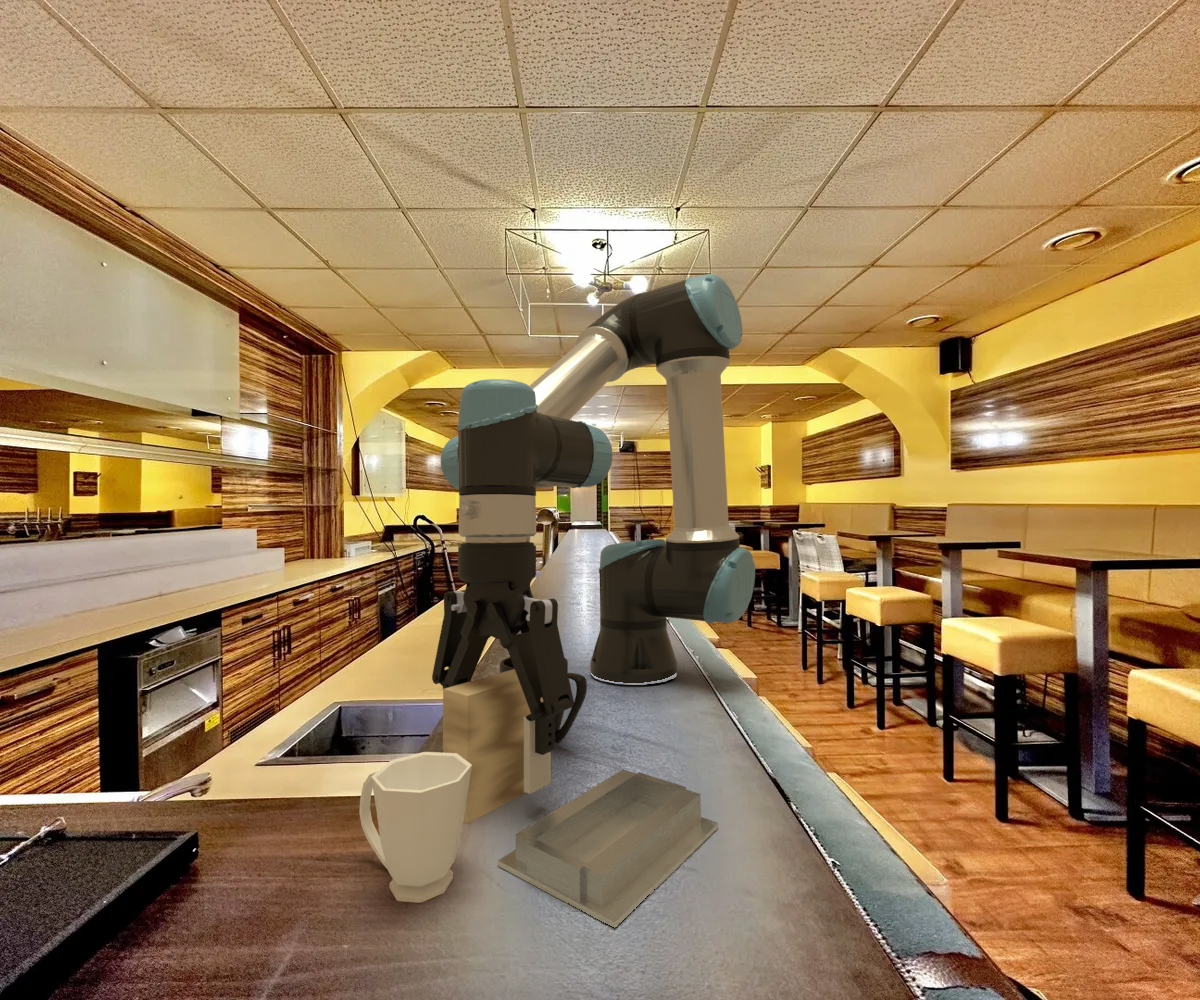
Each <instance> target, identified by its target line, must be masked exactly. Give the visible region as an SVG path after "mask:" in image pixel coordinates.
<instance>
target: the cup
mask: <svg viewBox="0 0 1200 1000" xmlns="http://www.w3.org/2000/svg"><path fill="white" fill-rule="evenodd" d="M471 768H472V764H470V763H469V762H468V761H466V760H465V759H464V758H462V757H461V756H460V755H458V754H457V753H443V752H436V751H422V752H418V753H415V754H410V755H407V756H402V757H399V758H395V759H392V760H389V761H388V762H387V763H386V764H385V765H383V767H381V768H380V769H379V770H376V771H374V772H372V773H369V774H368V776H367V778H366V779H365V781H364V782H363V784H362V789H361V794H360V799H359V809H358V810H359V811H358V812H359V819H360V824H361V825H360V826H361V828H362V830H363V833H364V835H365V838H366V841H368V843H369V845H370V847H371V848H372V850H373V852H374V853H375V855H376V856H377V858H378V860H379V861H380V862H381V863H382V865H383V866H384V867H385V869H387V872H388V873H389V875H390V877H391V878H392V879H391V881H390V882H389V890H390V891H391V893H392V895H393V897H394V898H395V900H396V901H397V902H406V903H407V902H408V903H416V904H417V903H419V904H421V903H424V902H425V901H428V900H430V899H433V898H435V897H437V896H440V895H442V894H444V893H445V892H446V890H447V889H448V887H449V886H450V884H451V882H452V880H453V879H454V872H453V871H452V870H451V867H452V865H453V864H454V862H455V861H456V857H457V852H458V850H459V845H460V841H461V838H462V837H461V836H462V832H463V827H464V814H465V807H466V800H467V794H468V788H469V782H470V775H471ZM372 793H373V797H374V803H375V810H376V816H377V817H376V818H377V824H378V831H379V833H378V831H377V829H376V826H375V825H374V822H373V818H372V811H371V798H372Z"/></svg>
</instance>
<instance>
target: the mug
mask: <svg viewBox="0 0 1200 1000" xmlns="http://www.w3.org/2000/svg"><path fill="white" fill-rule="evenodd" d="M564 658H565V663H566V667H567V672H568V671H569V670H568V666H569V663H568V662H569V661H568V659H567V658H566V657H564ZM513 669H514V666H513V663H512V661H511V658H510V656H509V657H506V658H503V659H502V660H501V661H500V663H499V673H502V672H506V671H509V670H513ZM568 677H569V680H572V681H574V682H575V686H576V693H575V698H574V705H573V707H572V708H570V711H569V713H568V715H567V717H566V719H565V720H564V723H563V725H562V726H561V724H562V721H563V717H564V714H565V711H562V712H560V713H557V714H556V716H555V745H556V744H559V743H560V742H561V741H563V740H564V739H565V737H566V736H567V734H568V733H569V731H570V729H571V728H572V726H573V724H574V722H575V720H576V718H577V716H578V714H579V712H580V711H581V708H582V706H583V704H584V701H585V698H586V695H587V692H588V690H587V689H588V684H587V682H588V681H587V679H586V677H585V676H583V675H582V674H579V673H573V672H568Z"/></svg>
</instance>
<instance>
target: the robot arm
mask: <svg viewBox="0 0 1200 1000" xmlns="http://www.w3.org/2000/svg"><path fill="white" fill-rule="evenodd" d="M742 337H743V322H742V316H741V313H740V308H739V305H738V303H737V300H736V298H735V295H734V294H733V291H732V289H731V288H730V286H729V285H728V283H727V282H726V281H725V280H724V278H722V277H721V276H719V275H716V274H715V273H713V274H712V273H707V274H703V275H699V276H694V277H693V276H690V277H687V278H686V279H684V280H680V281H678V282H677V281H676V282H674V283H671V284H668V285H664V286H661V287H658V288H655V289H651V290H648V291H645V292H641V293H637V294H634V295H632V296H630V297H627V298H625V299H624V300H622V301H620V302H618V303H617V304H615V305H614V306H612V307H611V308H610V309H609V310H607V311H606V312H605V313H603V314H602V315H600V316H599V317H598V318H597V319H596V320H595V321H594V322H592V323H591V324H590V325H589V326H587V327H586V328H585V329H584V330H582V331H581V332H580V334H578V337H577V338H576V342H575V346H574V347H572V349H571V350H569V351H568V352H567V353H566V354H565V355H564V356H562V357H561V358H560V359H559V360H558V361H556V362H555V363H554V364H553V365H552V366H550V368H548V369H546V371H545V372H544V373H543V374H541V375H540V376H539V377H538V378H537V379H535V380H534V381H533V382H532V383H531V384H530V385H528V383H524V382H522V381H518V380H512V379H505V378H503V379H502V378H499V379H498V378H497V379H496V378H495V379H494V378H489V379H482V380H477V381H473V382H470V383H468V384H467V385H465V386H464V387H463V389H462V390H461V393H460V401H459V410H458V423H457V428H456V429H457V431H458V432H457V433H458V435H457V436H454V437H452V438H451V439H449V440H448V441H447V442H446V443H445V445H444V447H443V448H442V451H441V456H440V467H441V471H442V474H443V476H444V477H445V479H446V481H447V482H448V483H449V484H450V485H451V486H452V487H453V488H455V489H456V490H458V497H459V498H458V499H459V500H458V501H459V502H458V503H459V504H458V535H459V536H460V537H462V538H465V542H463V543H460V544H459V545H460V546H459V545H458V547H457V548H458V549H457V568H458V569H457V576H458V579H459V580H460V581H462V582H464V583H466V585H465V589H461V590H454V591H447V592H445V593H444V594H443V613H444V614H443V619H442V625H441V628H440V629H441V630H440V635H439V639H438V645H437V649H436V655H435V659H434V665H433V669H432V676H431V679H432V682H433V683H434V684H435V685H438V684H439V685H441V686H442V690H443V689H445V688H449V687H452V686H456V685H459V684H463V683H466V682H470V681H472V678H473V675H474V673H475V671H476V669H477V666H478V664H479V661H480V659H481V658H482V654H483V651H485V647H486V645H487V642H488V640H489V639H490V638H494V639H497V640H499V642H500V645H501V647H502V648H504V649H506V650H507V652H508V654H509V657H510V658H511V661H512V663H513V666H514V669H515V671H516V674H517V677H518V679H519V682H520V685H521V688H522V690H523V693H524V696H525V698H526V701H527V704H528V707H529V709H530V712H531V714H529V715H527V716H526V717H524V792H526V793H525V794H527V795H528V794H529V795H531V794H533V793H535V792H536V791H538V790H540V789H542V788H544V787H545V786H547V785H549V784H551V782H552V781H551V780H552V778H551V777H552V776H551V773H552V772H551V770H552V767H551V766H552V765H551V762H552V761H551V758H552V757H551V756H552V755H551V752H553V751H554V750H555V747H556V744H555V716H556V714H557V713H560V712H562V711H564V712H565V711H567V710H571V708H572V707H573V705H574V701H575V699H574V696H573V692H572V687H571V682H570V679H569V677H568V673H569V672H567V667H566V663H565V658H566V657H565V654H564V649H563V645H562V641H561V635H560V631H559V627H558V626H559V625H558V613H559V612H558V611H559V605H558V601H557V600H556V599H555V598H547V599H538V598H534V595H533V593H532V590H531V583H532V581H533V580H534V578H536V575H537V545H535V542H532V541H531V537H535V535H537V511H536V510H537V507H536V505H537V502H536V501H537V500H536V499H537V498H536V496H537V488H548V487H549V488H551V487H570V488H571V489H576V488H579V489H580V488H590V487H595V486H596V485H598V484H600V483H601V482H602V481H604V479H605V478H606V477H607V475H608V474H609V472H610V470H611V467H612V465H613V464H612V463H613V454H614V453H613V447H612V444H611V441H610V438H609V437H608V436H607V434H606V433H605V432H604V431H603V430H601V429H600V428H599V427H596V426H593V425H590V424H588V423H586V422H584V421H583V420H582V421H581V420H578V421H576V420H571V419H572V418H573V417H574V416H575V415H576V414H577V413H579V411H580V410H581V409H582V408H583V407H584V406H585V405H586V404H587V403H588V402H589V401H590V400H591V399H592V398H593V397H594V396H595V395H596V394H597V393H598V392H599V391H600V390H601V389H602V388H603V387H604V386H605V385H606V384H607V383H613V382H615V381H617V380H619V379H620V378H622V377H623V375H625V374H626V373H627V372H629V371H632V370H634V369H638V368H642V367H646V366H651V365H655V367H656V368H655V370H656V372H657V373H658V374H660V375H661V376H662V377H663V378H664V379H665V381H666V382H665V383H666V396H667V397H666V398H667V399H666V400H667V414H668V415H667V416H668V433H669V435H668V437H669V449H670V453H669V455H670V471H671V472H670V473H671V487H672V488H671V489H672V507H673V524H674V525H673V526H674V528H673V529H672V530H671V532H670V533H669V534H668V535H667V537H665V539H664V538H654V539H653V538H652V539H651V538H650V539H644V540H643V539H642V540H634V541H626V542H624V541H623V542H619V543H613V544H609V545H606V546H605V547H602V550H600V555H599V556H600V558H599V567H598V573H599V575H598V576H599V625H600V626H599V627H600V628H599V632H598V636H597V640H596V642H595V646H594V649H593V652H592V656H591V659H590V663H589V665H590V668H589V669H590V670H589V671H591V673H592V674H593V675H594V676H596V677H598V678H601V679H604V680H609V681H614V682H623V683H644V682H651V681H657V680H662V679H665V678H668V677H670V676H672V675H674V674H675V673H676V672H677V673H678V661H677V658H676V655H675V651H674V649H673V645H672V642H671V639H670V636H669V633H668V628H667V626H668V625H667V622H668V621H667V618H670V619H681V620H689V621H690V620H691V621H699V622H700V621H701V622H705V623H708V624H713V623H724V624H725V623H726V624H727V623H729V624H730V623H734V622H736V621H738V620H739V619H741V617H742V616H743V615H744V614H745V613H746V611H747V609H748V607H749V604H750V603H751V601H752V597H753V592H754V588H755V580H756V565H755V560H753V559H754V557H753V554H752V552H751V551H750V550H748V549H746V548H744V547H740V546H741V545H740V544H741V543H740V535H739V534H738V533H737V532H736V531H735V530H734V529H733V528H732V527H731V526H730V525H729V509H728V507H729V506H728V489H727V488H728V487H727V469H726V451H725V450H726V449H725V433H724V417H723V416H724V415H723V414H724V413H723V396H722V395H723V394H722V393H723V392H722V378H721V377H722V376H721V375H722V373H723V372H725V370H726V369H727V368H728V366H729V365H730V363H731V361H730V350H734V349H736V348H737V347H738V346H739V345H740V343H741V342H742ZM446 668H447V669H446ZM541 697H542V698H543V701H544V702H541V700H540V699H541Z"/></svg>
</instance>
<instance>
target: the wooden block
mask: <svg viewBox="0 0 1200 1000" xmlns="http://www.w3.org/2000/svg"><path fill="white" fill-rule="evenodd" d="M442 696H443V697H442V753H457V754H458V755H460V756H461V757H462V758H464V759H465V760H466V761H468V762H469V763H470V764H472V768H471V775H470V782H469V788H468V794H467V800H466V807H465V814H464V822H463V824H466V825H468V824H470V823H472V822H474V821H476V820H478V819H479V818H482V817H483V816H485V815H487V814H488V813H491V812H493V811H494V810H497V809H498V808H500V807H502V806H504V805H505V804H508V803H509V802H511V801H513V800H515V799H517V798H519V797H521V796H523V795H525V794H527V793H526V792H524V717H526V716H527V715H529V714H531V712H530V709H529V707H528V704H527V701H526V698H525V696H524V693H523V690H522V688H521V685H520V682H519V679H518V677H517V674H516V671H515V669H513V670H509V671H506V672H502V673H500V672H499V673H495V674H492V675H488V676H484V677H481V678H476V679H474V680H471V681H470V682H466V683H463V684H459V685H456V686H452V687H449V688H445V689H443V688H442ZM540 700H541V702H544V701H543V698H542V697H541V699H540Z"/></svg>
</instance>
